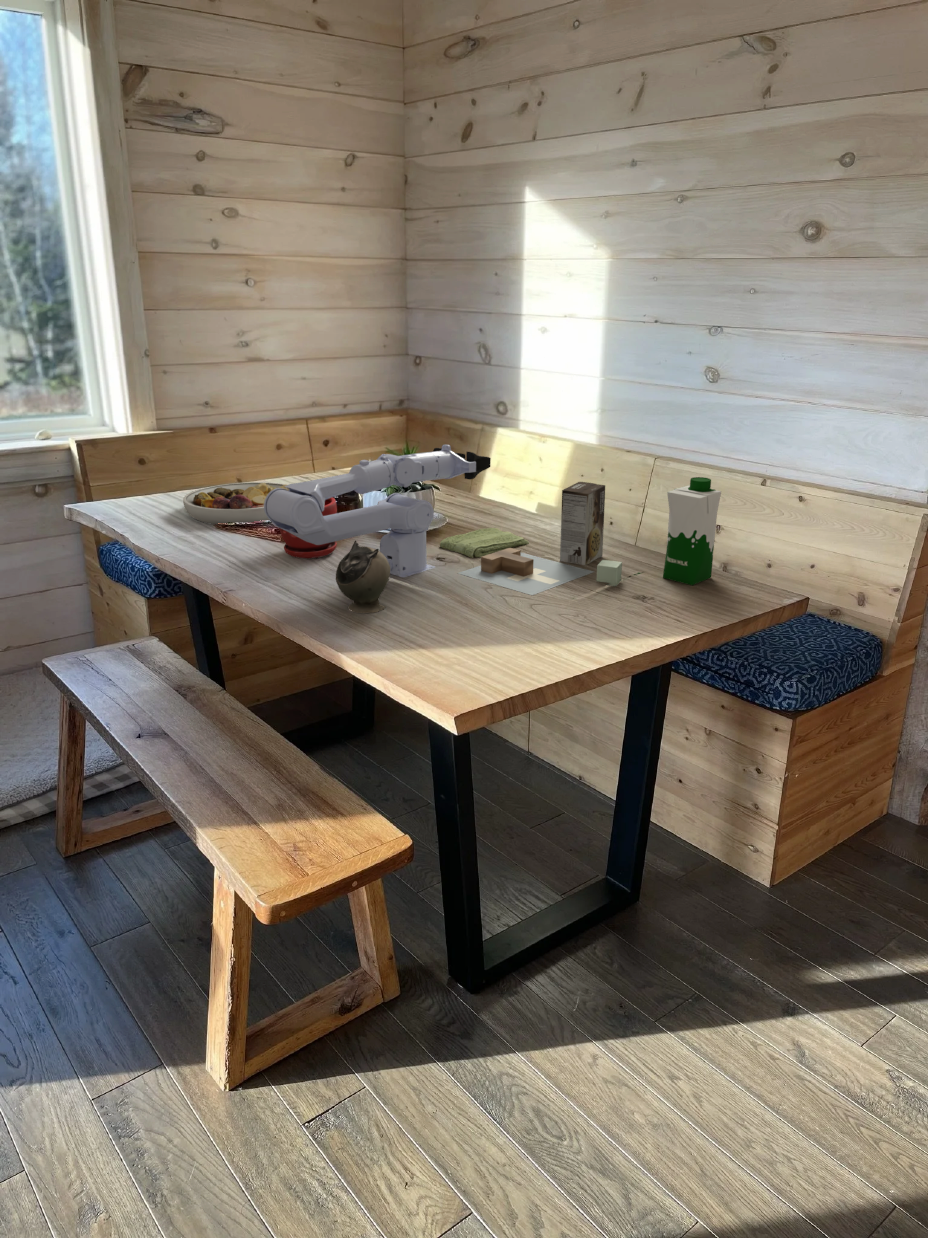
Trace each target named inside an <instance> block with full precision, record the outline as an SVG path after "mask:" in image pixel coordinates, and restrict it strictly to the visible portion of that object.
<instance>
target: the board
mask: <svg viewBox="0 0 928 1238" xmlns="http://www.w3.org/2000/svg"><path fill="white" fill-rule="evenodd" d="M521 556H523V557H526V558H530V559H534V561H533V574H530V575H527V576H524V577H523V576H519V575H516V574H512V573H509V572H505V571H499V572H496V573H493V574H491V573H487V572H484V571H481V564H480V565H477V566H475V567H472V568H469V569H466V570H463V571H459V572H457V574H458V575H462V576H464V577H465V576H466V577H468V578H472V579H475V580H478V581H482V582H485V583H488V584H489V583H490V584H492V585H495V586H498V587H503V588H505V589H509V590H511V591H512V590H513V591H516V592H519V593H523V594H526V595H530V596H534V595H538V594H540V593H543V592H545V591H548V590H550V589H553V588H555V587H558V586H561V585H564V584H567V583H568V582H572V581H574V580H577V579H579V578H582V577H583V578H584V577H585V576H587V575H590V574H593V573H595V571H594V570H590V569H585V568H583V567H577V566H574V565H570V564H566V563H563V562H560V561H559V562H558V561H555V560H552V559H547V558H543V557H539V556H535V555H532V554H528V553H525V552H521Z"/></svg>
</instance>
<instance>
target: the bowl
mask: <svg viewBox="0 0 928 1238" xmlns="http://www.w3.org/2000/svg"><path fill="white" fill-rule="evenodd" d="M287 485H288V484H286V483H285V484H284V483H280V482H279V483H278V482H266V481H265V482H264V481H263V482H260V481H255V482H253V481H252V482H232V483H225V484H224V483H223V484H218V485H211V486H207V487H203V488H198V489H195V490H194V491H191V492H189V493H186V495H184V497H183V499H182V501H183V503H182V504H183V507H184V509H185V511H186V513H187V514H188V515H189V516H190V517H191V518H193V519H195V520H197V522H198V521H199V522H201V523H204V522H205V524H208V523H211V524H210V525H215V524H218V523H227V522H254V521H260V520H261V521H262V520H270V519H269V518H268V517H267V516H266V514H265V511H264V501H265V498H266V496H267V495H268V493H269V492H270V491H272V490H274V489H276V488H283V489H286V490H287V491H288V490H290V489H288V488H286V487H285V486H287Z"/></svg>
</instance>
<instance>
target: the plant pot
mask: <svg viewBox="0 0 928 1238" xmlns="http://www.w3.org/2000/svg"><path fill="white" fill-rule="evenodd" d="M321 513H322V515H323V516H327V515H331V514H336V513H338V505H337V501H336V499H335V497H332V498H329V499H326V500H325V505H324V511H323V512H322V511H321ZM278 529H279V533H280V535H281V537H282V539H283V541H284V542H285V544H284V545H283V549H284V552H285V553H286V554H287V555H289V556H290V557H293V558H296V559H302V560H303V559H307V560H308V559H319V558H322V557H325V556H328V555H330V554H332V553H333V552H334V551H335V550H336V549H337V546H338V543H337V541H335V542H330V543H326V544H322V545H315V544H312V543H309V542H306V541H304V540H302V539H300V538H299V537H297V536H295V535H293V534H291V533H289V532H287V531H285V530H283V529H281V528H279V527H278Z"/></svg>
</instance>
